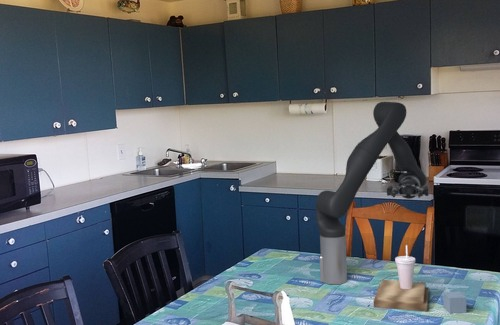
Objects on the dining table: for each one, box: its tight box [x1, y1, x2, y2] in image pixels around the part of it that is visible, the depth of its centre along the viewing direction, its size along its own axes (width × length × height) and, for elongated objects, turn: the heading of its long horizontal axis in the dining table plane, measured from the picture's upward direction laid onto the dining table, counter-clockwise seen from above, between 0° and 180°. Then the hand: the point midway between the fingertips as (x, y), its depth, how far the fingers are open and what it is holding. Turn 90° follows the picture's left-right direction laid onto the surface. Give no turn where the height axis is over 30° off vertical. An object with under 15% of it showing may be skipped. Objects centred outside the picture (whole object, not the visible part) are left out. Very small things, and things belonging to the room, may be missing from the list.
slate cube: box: [442, 290, 467, 315], centre depth 160 cm, size 5×5×5 cm
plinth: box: [373, 279, 430, 313], centre depth 170 cm, size 16×16×4 cm
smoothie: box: [394, 244, 416, 289], centre depth 169 cm, size 6×6×14 cm
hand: (406, 194), depth 181 cm, fingers open, 8 cm apart
